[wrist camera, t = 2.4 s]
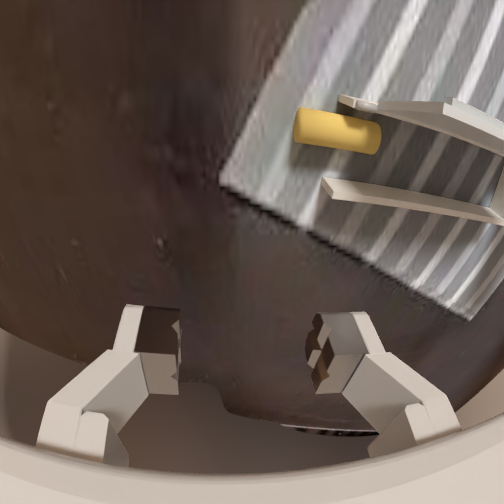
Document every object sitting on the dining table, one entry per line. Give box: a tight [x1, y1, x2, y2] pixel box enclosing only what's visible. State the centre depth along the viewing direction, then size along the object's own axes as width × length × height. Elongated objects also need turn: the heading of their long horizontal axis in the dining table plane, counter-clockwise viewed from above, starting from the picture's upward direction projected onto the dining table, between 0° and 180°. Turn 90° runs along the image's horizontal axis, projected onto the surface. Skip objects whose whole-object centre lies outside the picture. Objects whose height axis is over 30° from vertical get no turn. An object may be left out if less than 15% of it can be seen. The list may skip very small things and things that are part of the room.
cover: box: [377, 98, 504, 154], centre depth 19 cm, size 20×8×1 cm
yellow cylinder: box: [294, 107, 381, 155], centre depth 25 cm, size 7×3×3 cm
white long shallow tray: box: [321, 94, 504, 226], centre depth 27 cm, size 25×9×4 cm, turn 84°
